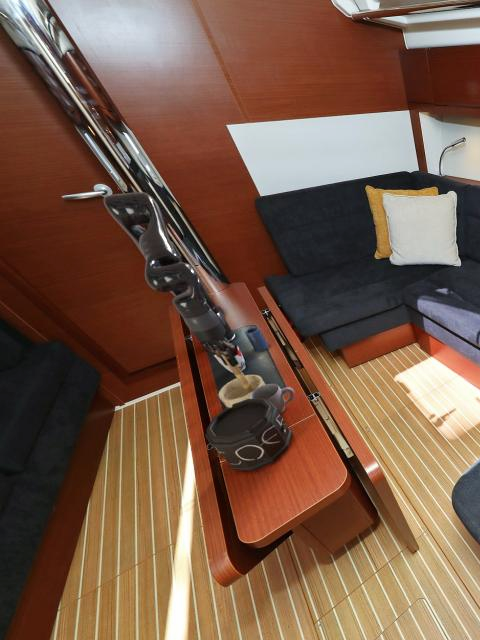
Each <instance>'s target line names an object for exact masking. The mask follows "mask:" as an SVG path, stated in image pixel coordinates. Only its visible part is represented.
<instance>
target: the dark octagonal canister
mask: <svg viewBox="0 0 480 640" xmlns="http://www.w3.org/2000/svg"><path fill="white" fill-rule="evenodd" d="M277 411H278V409H277V408H276V407H275V406H274V405H273V404H272V403H271V402H270V401H267V400H264V399H247V400H244V401H241V402H238V403H235V404H232V407H225V408H224V409H223V410H221V411H219V413H217V414H215V416H213V417H212V419H211V421H210V423H209V425H208V427H207V428H206V430H205V431H206V433H205V438H206V439H207V441H208V442H209V444H210V445H211V447H212V448H216V450H217V451H218V453H219V455H220V456H221V457H222V458H223V459H224V460H225V461H226V462H227V463H228V464H229V466H230V467H231V469H232V470H235V471H258V470H260V469H263V468H264V467H267V466H269V465H271V464H274V463H275V462H276V461H278V460H279V458H281V456H283V455H284V454H285V453H286V452H287V451H288V449H289V446H290V443H291V439H292V435H293V431H292V430H291V429H290V428H289V426H288V424H287V423H286V421H285V420H284V418H283V417H282V416H281V414H278V412H277Z"/></svg>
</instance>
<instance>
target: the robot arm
mask: <svg viewBox="0 0 480 640" xmlns="http://www.w3.org/2000/svg"><path fill="white" fill-rule="evenodd" d="M103 204H104V207H105V208H106V210H107V211H108V213H109V214H110V216H111V217H112V218H113V220H114V221H115V222H117V224H118V225H119V226H120V227H121V228H122V230H123V231H124V232H125V233H126V234H127V235H128V236H129V237H130V238H131V240H132V241H133V243H134V244H135V245H136V247H137V249H138V250H139V251H140V253H141V254H142V255H143V256H142V257H144V259H145V267H144V277H145V281H146V283H147V285H148V286H149V287H150V288H151V289H152V290H154V291H156V292H160V293H168V292H169V293H170V294H171V295H172V296H173V299H172V304H173V306H174V308H175V309H176V310H177V312H178V313H179V315H181V317H182V319H183V321H184V323H185V324H186V326H187V327H188V329H189V330H190V332H191V333H192V334H193V336H194V337H195V338H196V340H197V341H198V342H199V343H198V344H200V345H201V346H202V347H203V348H205V350H206V351H208V352H209V353H210V354H211V355H212V356H214V355H217V357H219V358H220V359H221V360H222V361H223V363H224V364H225V365H227V366H228V364H227V363H226V361H225V360H224V359H223V357H222V356H221V354H223V355H224V357H225V358H226V359H227V361H228V362H229V364H230V365H231V366H232V367H235V366H236V365H238V364H239V363H238V361H237V360H236V358H235V356H236V355H238V349H237V346H238V344H236V343H235V342H234V343H230V342H232V341H234V340H235V338H236V333H235V332H234V331H233V329H232V328H231V327H230V325H229V323H228V322H227V320H226V318H225V314H226V313H225V311H224V309H223V308H222V307H220V306H218V305H217V304H216V303H215V301H214V299H213V298H212V297H211V295H210V293H209V291H208V290H207V288H206V286H205V283H204V282H203V281H202V279H201V277H200V276H199V275H198V274H197V272H196V270H195V268H194V267H193V266H192V265H191V264H189V263H187V262H184V261H183V257H182V254H181V253H180V251H179V249H178V248H177V246H176V244H175V243H174V242H173V241H171V238H170V235H169V230H168V226H167V224H166V220H165V218H164V215H163V212H162V210H161V208H160V206H159V204H158V203H157V202H156V200H155V199H154V198H153V197H152V196H151V195H150V194H149V193H147V192H143V191H142V192H141V191H139V192H138V191H137V192H136V191H135V192H123V193H114V194H113V193H112V194H109V195H105V196H104V197H103ZM144 225H147V226H146V228H145V227H142V226H144ZM227 352H228V355H227Z"/></svg>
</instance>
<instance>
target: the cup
mask: <svg viewBox="0 0 480 640" xmlns="http://www.w3.org/2000/svg"><path fill="white" fill-rule="evenodd" d="M237 349H238V355H236V356H235V358H236V360H237V361H238V363H239V364H238V367H239V368H240V370H241V371H242V372H243V371H244V370H245V369H246V361H245V359H244V356H243V354H242V351H241V349H240V348H239V346H238V345H237ZM213 356H214V358H215V359H216V360H217V361H218V362H219V364H221V366H222V367H224V368H225V369H226V370H227V371H229V372H230V373H232V374H234V373H233V372H232V370H231V369H230V367H229V366H227V365H225V364H224V363H223V361H222V360H221V359H220V358H219V357H217V355H213Z"/></svg>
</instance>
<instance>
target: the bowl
mask: <svg viewBox="0 0 480 640" xmlns="http://www.w3.org/2000/svg"><path fill="white" fill-rule="evenodd" d="M244 376H245V377H246V379H247V380H248V382H249V383H250V385H251V386H252V388H253V391H254V390H255V389H257V388H258V387H260V386H263V385H266V384H267V383H265V381H264V379H263V378H262V376H260V375H258V374H245V375H244ZM253 391H252V392H253ZM252 392H246V390H245V389H244V387H243V386H242V385H241V383H240V382H239V380H238V379H237V377H236V378H234V379H232V380H231V381H229V382H227V383H226V384H224V385H223V386H222V387H221V388H220V390H219V391H218V398H219V399H220V401H221V402H222V403H223V405H224V406H225V408H227V407H232V404H235V403H238V402H241V401H244V400H247V399H250V395H251V393H252Z"/></svg>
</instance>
